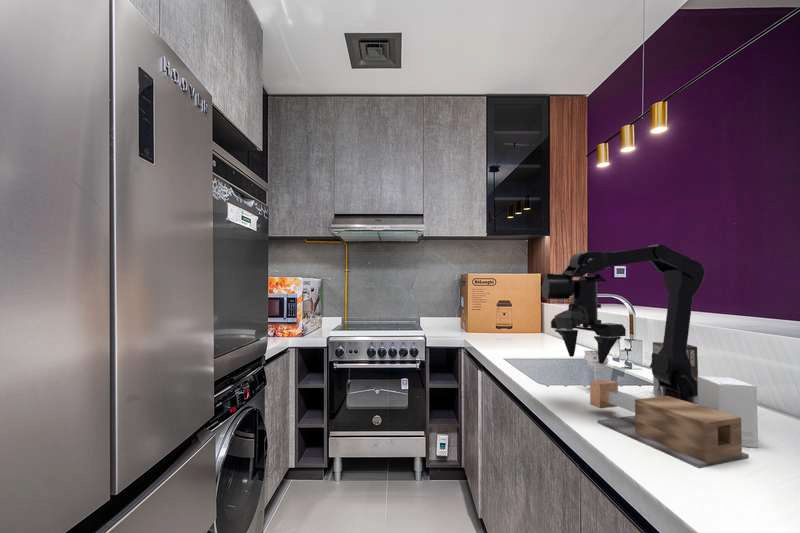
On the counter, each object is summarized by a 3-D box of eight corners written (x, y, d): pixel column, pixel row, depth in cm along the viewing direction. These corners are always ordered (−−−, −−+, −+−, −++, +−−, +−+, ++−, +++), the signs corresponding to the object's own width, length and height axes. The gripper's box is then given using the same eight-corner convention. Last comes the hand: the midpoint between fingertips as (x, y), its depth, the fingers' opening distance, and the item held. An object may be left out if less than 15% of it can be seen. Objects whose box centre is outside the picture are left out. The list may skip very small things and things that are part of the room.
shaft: (590, 404, 94) (590, 381, 94) (607, 402, 96) (607, 379, 96) (667, 435, 75) (666, 405, 75) (687, 432, 77) (686, 403, 77)
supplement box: (759, 448, 74) (758, 386, 75) (718, 444, 76) (717, 383, 76) (734, 434, 82) (733, 377, 82) (696, 430, 83) (696, 374, 84)
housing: (597, 422, 87) (597, 389, 87) (640, 417, 91) (640, 385, 91) (699, 468, 66) (698, 424, 66) (748, 457, 70) (747, 416, 71)
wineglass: (583, 392, 111) (583, 353, 111) (584, 387, 117) (584, 349, 117) (608, 396, 108) (608, 355, 108) (608, 390, 114) (608, 352, 114)
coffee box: (687, 397, 108) (686, 343, 109) (699, 404, 102) (698, 346, 103) (652, 394, 110) (652, 341, 111) (662, 401, 104) (662, 344, 105)
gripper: (535, 298, 101) (535, 355, 100) (592, 301, 84) (593, 370, 83) (566, 298, 105) (566, 352, 104) (626, 301, 88) (628, 366, 87)
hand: (585, 359), depth 95 cm, fingers open, 9 cm apart
